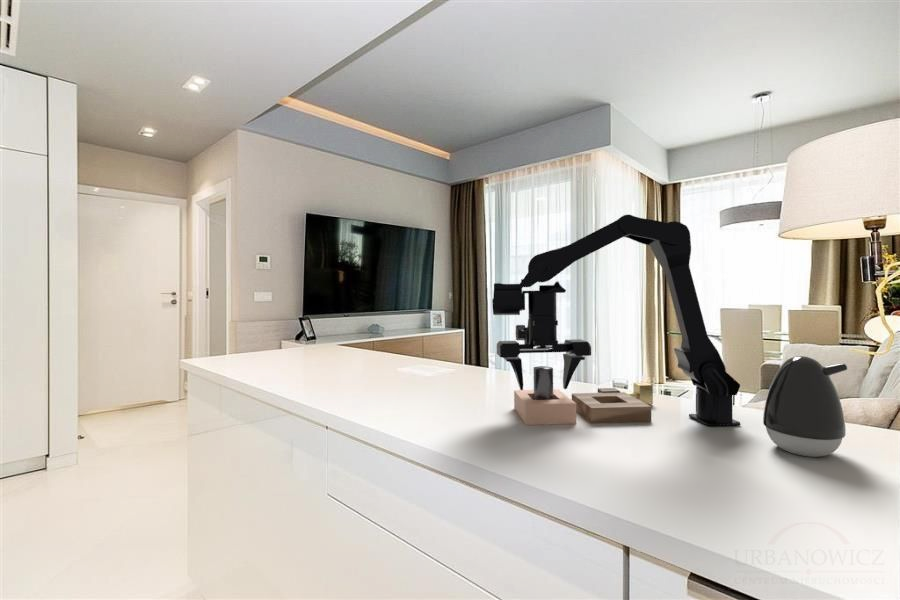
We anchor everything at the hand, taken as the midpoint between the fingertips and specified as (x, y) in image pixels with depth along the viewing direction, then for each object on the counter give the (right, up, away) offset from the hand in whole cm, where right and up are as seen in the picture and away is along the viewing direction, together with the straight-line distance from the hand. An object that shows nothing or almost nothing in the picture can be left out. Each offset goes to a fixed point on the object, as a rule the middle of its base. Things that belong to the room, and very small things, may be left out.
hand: (543, 389), depth 90 cm
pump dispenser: (+37, -6, -21) cm, 43 cm away
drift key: (+21, -5, +8) cm, 23 cm away
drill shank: (0, -6, 0) cm, 6 cm away
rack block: (0, -6, 0) cm, 6 cm away
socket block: (+14, -5, +2) cm, 15 cm away
